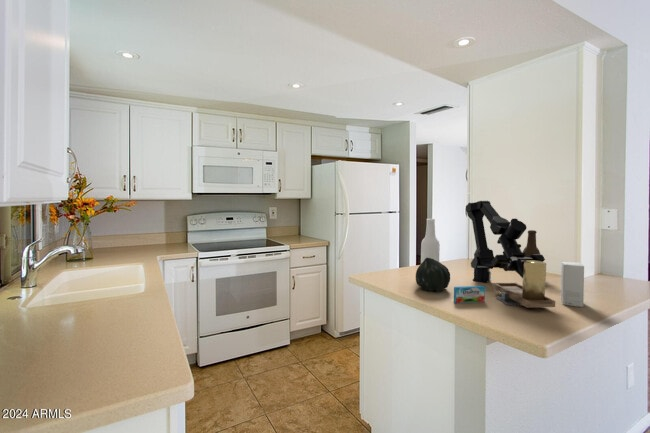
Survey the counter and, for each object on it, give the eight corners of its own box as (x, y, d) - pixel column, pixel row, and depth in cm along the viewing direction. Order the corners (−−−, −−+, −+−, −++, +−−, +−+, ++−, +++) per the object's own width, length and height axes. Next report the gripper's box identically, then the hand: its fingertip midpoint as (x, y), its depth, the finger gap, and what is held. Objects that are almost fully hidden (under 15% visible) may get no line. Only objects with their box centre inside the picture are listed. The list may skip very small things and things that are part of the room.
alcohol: (441, 277, 164) (442, 218, 162) (434, 281, 157) (435, 219, 155) (425, 275, 169) (426, 217, 167) (417, 278, 163) (418, 219, 161)
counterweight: (520, 299, 120) (522, 262, 119) (523, 295, 125) (525, 259, 124) (542, 304, 115) (544, 265, 114) (545, 299, 121) (547, 262, 120)
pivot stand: (496, 298, 131) (496, 289, 131) (533, 298, 131) (533, 289, 131) (507, 305, 123) (508, 296, 123) (546, 304, 123) (547, 295, 123)
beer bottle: (539, 277, 163) (541, 230, 161) (539, 281, 156) (541, 231, 155) (521, 275, 167) (523, 229, 165) (520, 279, 160) (522, 230, 159)
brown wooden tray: (492, 287, 138) (492, 282, 138) (516, 287, 139) (516, 282, 138) (526, 307, 116) (527, 301, 115) (555, 307, 116) (555, 301, 116)
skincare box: (583, 307, 120) (585, 266, 119) (561, 304, 123) (563, 264, 122) (580, 301, 127) (582, 262, 126) (559, 298, 130) (561, 260, 129)
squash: (461, 277, 143) (439, 250, 149) (447, 286, 132) (424, 256, 138) (438, 293, 151) (418, 266, 157) (423, 302, 140) (402, 273, 146)
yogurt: (482, 300, 129) (483, 285, 128) (484, 302, 127) (485, 286, 127) (453, 302, 128) (453, 286, 127) (455, 303, 126) (455, 287, 126)
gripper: (523, 257, 140) (539, 289, 130) (480, 257, 140) (493, 290, 130) (536, 241, 132) (554, 275, 121) (491, 242, 131) (505, 275, 121)
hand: (526, 279), depth 124 cm, fingers closed
